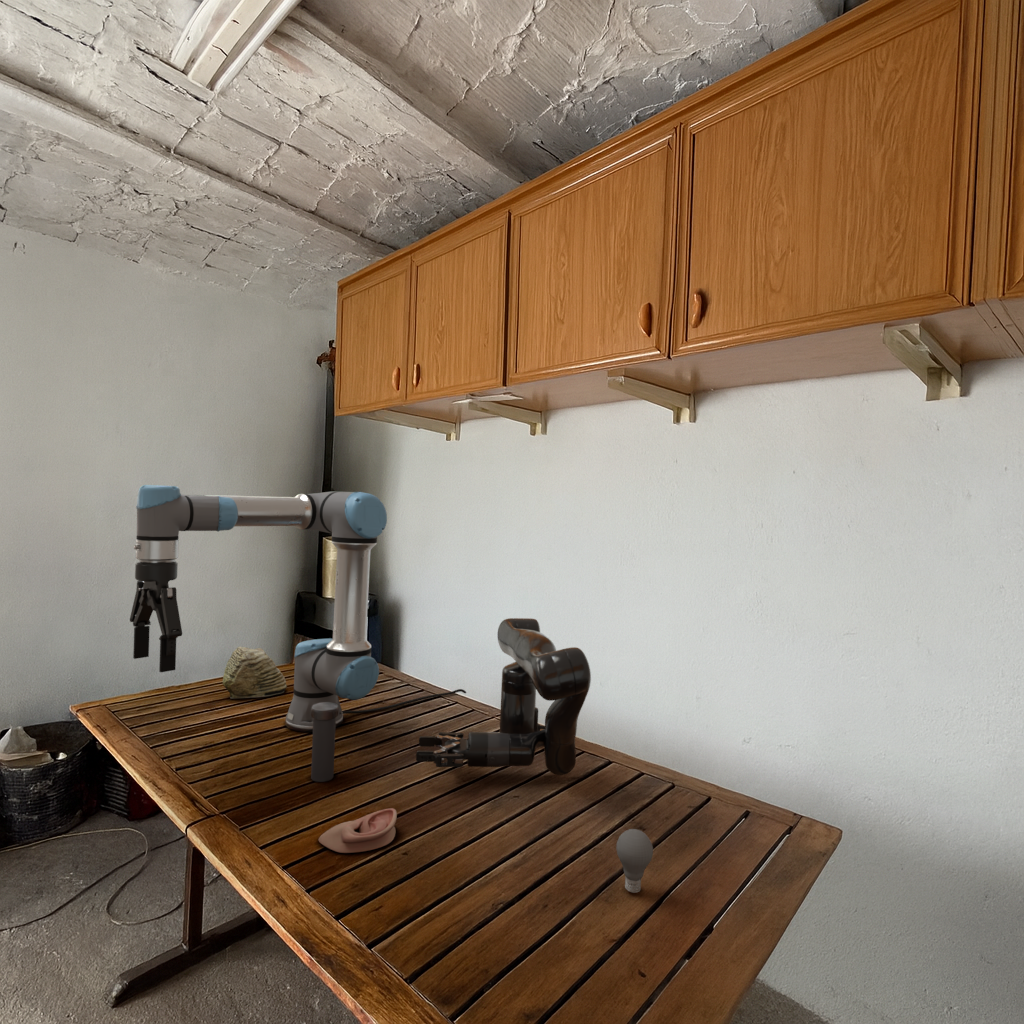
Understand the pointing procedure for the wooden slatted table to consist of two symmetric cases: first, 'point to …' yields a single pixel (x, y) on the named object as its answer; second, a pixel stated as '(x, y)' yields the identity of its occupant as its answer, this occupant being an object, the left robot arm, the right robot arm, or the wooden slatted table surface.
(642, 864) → the light bulb
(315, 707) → the lid
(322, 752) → the dark grey cylinder
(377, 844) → the anatomical model
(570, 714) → the right robot arm
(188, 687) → the wooden slatted table surface
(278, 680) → the fossil
